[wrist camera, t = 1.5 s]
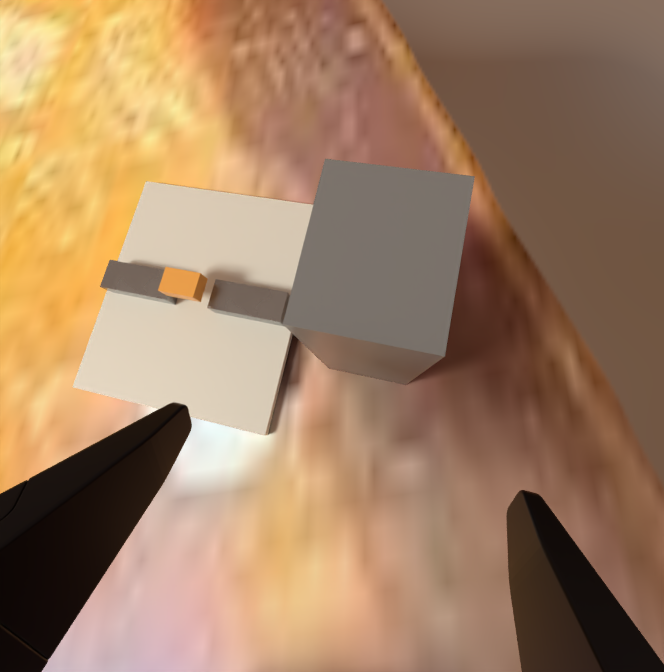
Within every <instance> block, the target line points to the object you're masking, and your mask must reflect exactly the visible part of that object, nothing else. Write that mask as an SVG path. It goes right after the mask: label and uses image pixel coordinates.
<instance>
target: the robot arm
mask: <svg viewBox="0 0 664 672" xmlns="http://www.w3.org/2000/svg"><path fill="white" fill-rule="evenodd" d="M191 427H192V424H191V419H190V414H189V410H188V407H187V406H186V405H184V404H180V403H176V402H172V403H170V404H168V405H166V406H164V407H162V408H160V409H158V410H156V411H155V412H153V413H151V414H149V415H147V416H145V417H143V418H141V419H140V420H138V421H136V422H134V423H132V424H130V425H128V426H127V427H125V428H123V429H121V430H119V431H117V432H115V433H113V434H112V435H110V436H108V437H106V438H104V439H102V440H100V441H99V442H97V443H95V444H93V445H91V446H89V447H87V448H85V449H84V450H82V451H80V452H78V453H76V454H74V455H72V456H70V457H69V458H67V459H65V460H63V461H61V462H59V463H57V464H56V465H54V466H52V467H50V468H48V469H46V470H44V471H42V472H41V473H39V474H37V475H35V476H33V477H31V478H30V479H29V480H26V481H24V482H22V483H20V484H18V485H16V486H14V487H12V488H10V489H9V490H7V491H5V492H3V493H1V494H0V672H41V671H42V670H43V668H44V667H45V665H46V664H47V662H48V659H49V658H50V657H51V656H52V654H53V653H54V651H55V649H56V648H57V646H58V645H59V643H60V642H61V640H62V639H63V637H64V636H65V634H66V633H67V631H68V629H69V628H70V626H71V625H72V623H73V622H74V620H75V619H76V617H77V616H78V614H79V613H80V611H81V609H82V608H83V606H84V605H85V603H86V602H87V600H88V599H89V597H90V596H91V594H92V593H93V591H94V589H95V588H96V586H97V585H98V583H99V582H100V580H101V579H102V577H103V576H104V574H105V572H106V571H107V569H108V568H109V566H110V565H111V563H112V562H113V560H114V559H115V557H116V556H117V554H118V552H119V551H120V549H121V548H122V546H123V545H124V543H125V542H126V540H127V539H128V537H129V536H130V534H131V532H132V531H133V529H134V528H135V526H136V525H137V523H138V522H139V520H140V519H141V517H142V516H143V514H144V512H145V511H146V509H147V508H148V506H149V505H150V503H151V502H152V500H153V499H154V497H155V496H156V494H157V492H158V491H159V489H160V488H161V486H162V484H163V483H164V481H165V479H166V478H167V476H168V474H169V472H170V470H171V468H172V466H173V464H174V462H175V461H176V459H177V457H178V455H179V453H180V451H181V449H182V447H183V445H184V443H185V441H186V439H187V437H188V435H189V433H190V431H191ZM507 543H508V570H509V584H510V593H511V600H512V607H513V614H514V621H515V628H516V635H517V641H518V648H519V655H520V662H521V669H522V672H664V664H663V663H662V661H661V660H660V658H659V657H658V656H657V654H656V653H655V652H654V650H653V649H652V648H651V646H650V645H649V643H648V642H647V641H646V639H645V638H644V637H643V635H642V634H641V632H640V631H639V630H638V628H637V627H636V626H635V624H634V623H633V621H632V620H631V619H630V617H629V616H628V615H627V613H626V612H625V611H624V609H623V608H622V606H621V605H620V604H619V602H618V601H617V600H616V598H615V597H614V595H613V594H612V593H611V591H610V590H609V589H608V587H607V586H606V584H605V583H604V582H603V580H602V579H601V578H600V576H599V575H598V574H597V572H596V571H595V569H594V568H593V567H592V565H591V564H590V563H589V561H588V560H587V558H586V557H585V556H584V554H583V553H582V552H581V550H580V549H579V547H578V546H577V545H576V543H575V542H574V541H573V539H572V538H571V537H570V535H569V534H568V532H567V531H566V530H565V528H564V527H563V526H562V524H561V523H560V521H559V520H558V519H557V517H556V516H555V515H554V513H553V512H552V511H551V509H550V508H549V506H548V505H547V504H546V502H545V501H544V500H543V498H542V497H541V496H540V495H538V494H536V493H533V492H529V491H525V490H521V491H519V492H518V494H517V495H516V497H515V498H514V500H513V501H512V503H511V504H510V506H509V507H508V510H507Z"/></svg>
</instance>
